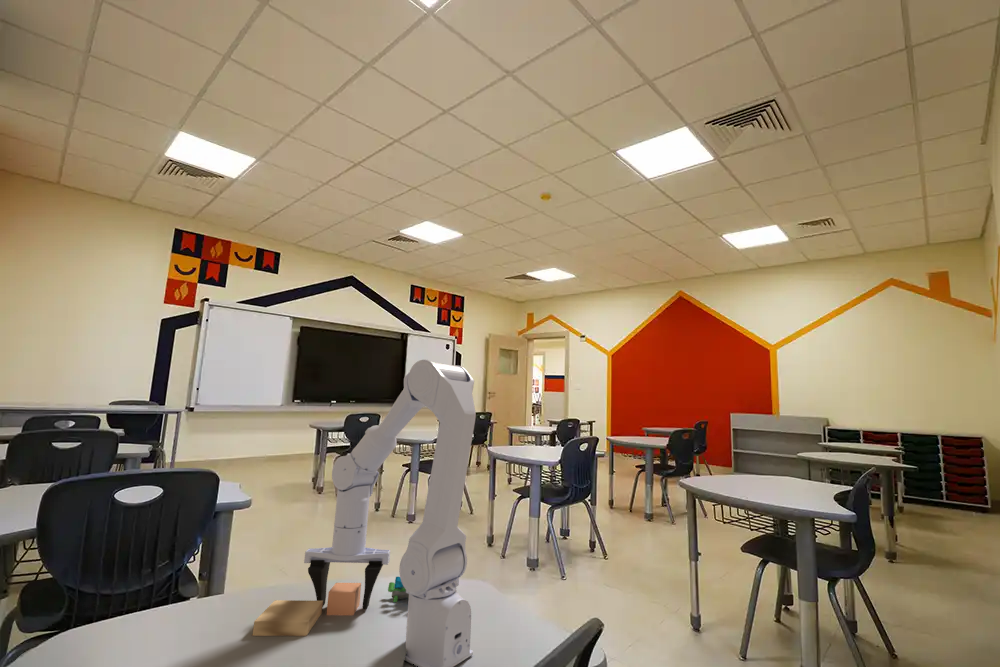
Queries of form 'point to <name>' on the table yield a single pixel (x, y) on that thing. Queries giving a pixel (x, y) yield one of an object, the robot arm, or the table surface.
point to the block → (343, 599)
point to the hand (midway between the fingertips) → (343, 606)
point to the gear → (397, 590)
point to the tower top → (288, 618)
